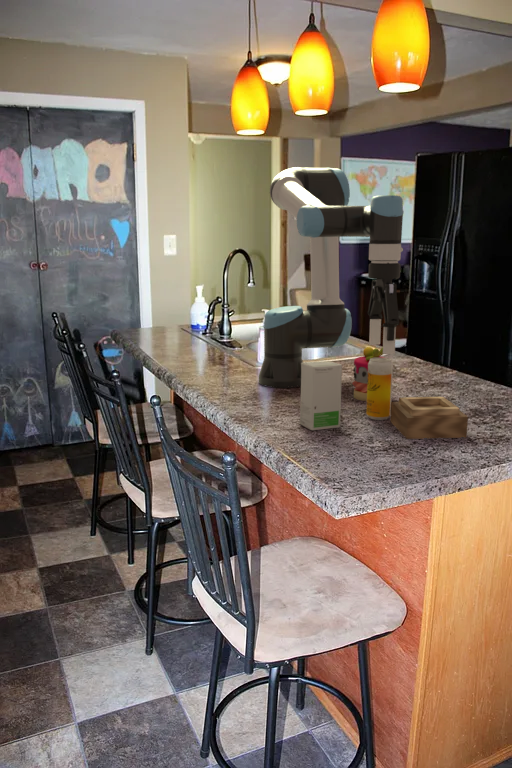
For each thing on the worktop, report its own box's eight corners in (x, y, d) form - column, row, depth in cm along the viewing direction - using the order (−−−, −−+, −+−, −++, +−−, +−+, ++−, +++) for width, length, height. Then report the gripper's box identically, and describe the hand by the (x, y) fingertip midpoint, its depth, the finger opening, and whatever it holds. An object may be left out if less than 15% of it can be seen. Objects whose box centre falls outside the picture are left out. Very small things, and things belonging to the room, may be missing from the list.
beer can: (364, 413, 171) (366, 357, 167) (388, 413, 170) (390, 357, 167) (367, 420, 165) (370, 361, 161) (392, 420, 164) (395, 361, 161)
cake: (345, 397, 186) (346, 345, 183) (364, 390, 194) (366, 340, 191) (378, 404, 180) (380, 350, 176) (396, 396, 188) (399, 344, 184)
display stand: (406, 439, 150) (408, 411, 149) (390, 421, 164) (391, 396, 162) (466, 437, 151) (468, 410, 150) (445, 420, 165) (446, 394, 163)
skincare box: (311, 431, 156) (312, 367, 152) (298, 424, 162) (299, 362, 158) (341, 427, 159) (343, 364, 156) (328, 420, 165) (329, 359, 162)
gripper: (415, 264, 147) (411, 357, 151) (386, 259, 171) (383, 340, 176) (382, 264, 146) (379, 358, 151) (357, 259, 170) (355, 341, 175)
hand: (381, 349), depth 163 cm, fingers open, 13 cm apart
